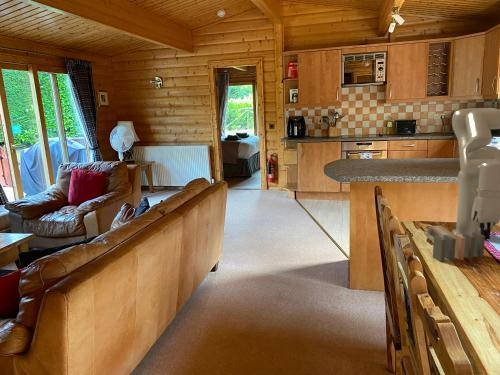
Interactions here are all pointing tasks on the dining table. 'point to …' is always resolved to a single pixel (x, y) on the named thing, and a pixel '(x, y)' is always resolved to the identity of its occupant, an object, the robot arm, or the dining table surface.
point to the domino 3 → (459, 246)
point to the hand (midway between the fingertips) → (484, 238)
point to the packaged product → (437, 232)
